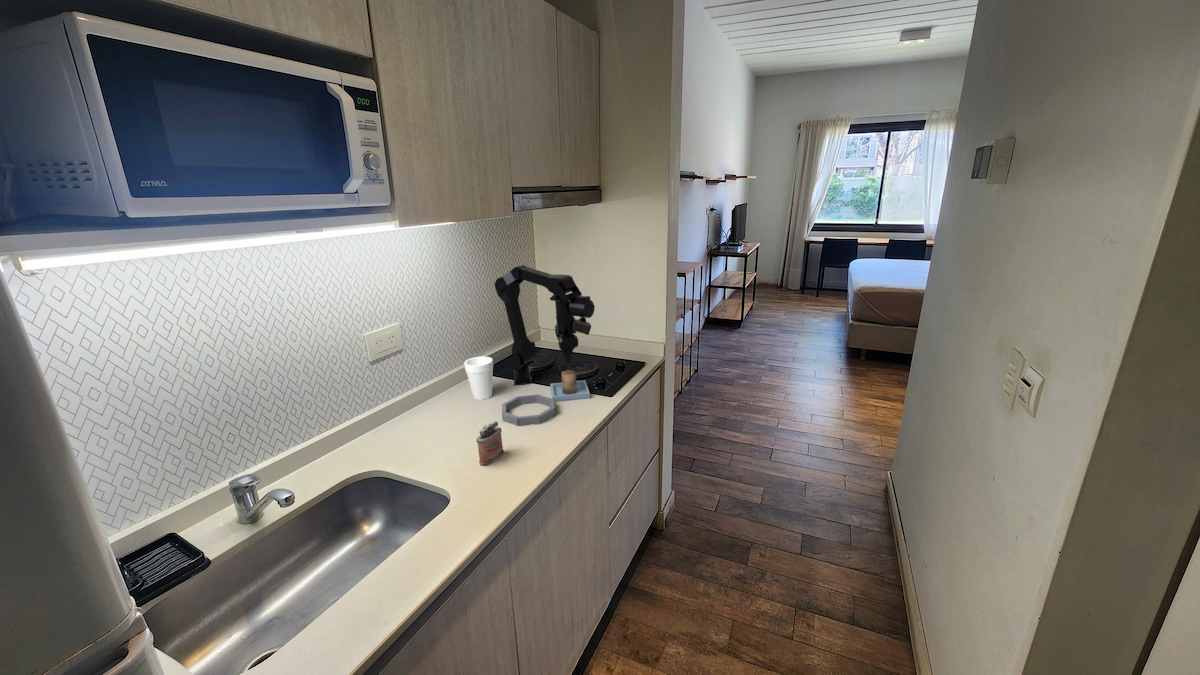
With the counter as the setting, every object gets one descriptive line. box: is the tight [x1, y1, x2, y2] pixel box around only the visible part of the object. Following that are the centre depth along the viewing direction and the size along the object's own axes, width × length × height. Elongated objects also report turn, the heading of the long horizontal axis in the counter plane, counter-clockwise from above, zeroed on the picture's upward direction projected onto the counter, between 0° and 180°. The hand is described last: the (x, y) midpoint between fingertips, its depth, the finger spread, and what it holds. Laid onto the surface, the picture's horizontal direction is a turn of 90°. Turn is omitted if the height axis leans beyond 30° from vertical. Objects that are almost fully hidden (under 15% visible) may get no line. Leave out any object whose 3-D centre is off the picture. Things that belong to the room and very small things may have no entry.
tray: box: [549, 380, 591, 403], centre depth 169 cm, size 12×13×2 cm
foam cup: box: [463, 356, 494, 401], centre depth 168 cm, size 10×9×13 cm
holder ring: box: [501, 393, 556, 427], centre depth 156 cm, size 16×16×2 cm
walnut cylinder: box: [560, 369, 577, 395], centre depth 168 cm, size 5×5×7 cm
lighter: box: [475, 420, 505, 467], centre depth 130 cm, size 8×3×10 cm, turn 148°
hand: (567, 358), depth 165 cm, fingers open, 9 cm apart
